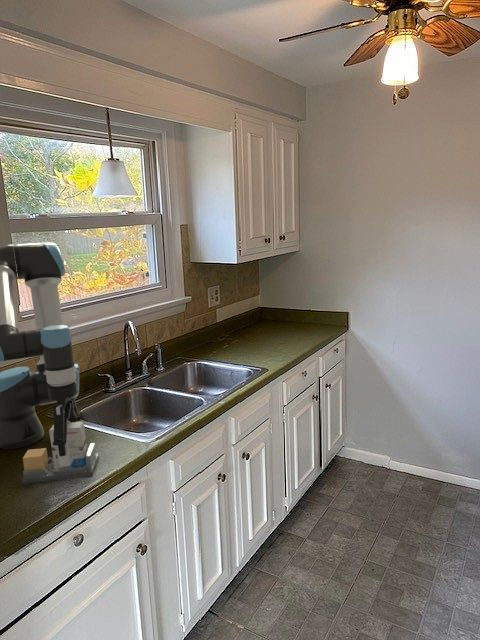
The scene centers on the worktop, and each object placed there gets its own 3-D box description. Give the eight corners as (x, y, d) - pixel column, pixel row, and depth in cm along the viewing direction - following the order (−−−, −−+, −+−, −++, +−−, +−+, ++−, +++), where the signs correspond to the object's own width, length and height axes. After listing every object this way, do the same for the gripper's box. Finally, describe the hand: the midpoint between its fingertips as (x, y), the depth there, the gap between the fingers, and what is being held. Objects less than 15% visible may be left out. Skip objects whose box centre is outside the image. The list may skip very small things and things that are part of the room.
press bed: (34, 464, 142) (31, 447, 140) (98, 458, 144) (96, 440, 143) (22, 483, 131) (19, 465, 130) (92, 476, 133) (90, 458, 132)
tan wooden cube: (30, 464, 138) (28, 449, 137) (48, 462, 139) (46, 448, 138) (24, 473, 133) (22, 457, 133) (43, 471, 134) (41, 456, 133)
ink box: (89, 458, 140) (84, 420, 138) (85, 467, 135) (80, 427, 133) (58, 461, 139) (53, 422, 137) (53, 469, 134) (48, 429, 132)
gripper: (58, 370, 144) (66, 436, 148) (34, 399, 120) (44, 477, 124) (84, 367, 145) (91, 434, 149) (65, 396, 121) (75, 474, 125)
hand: (70, 454), depth 137 cm, fingers open, 13 cm apart
